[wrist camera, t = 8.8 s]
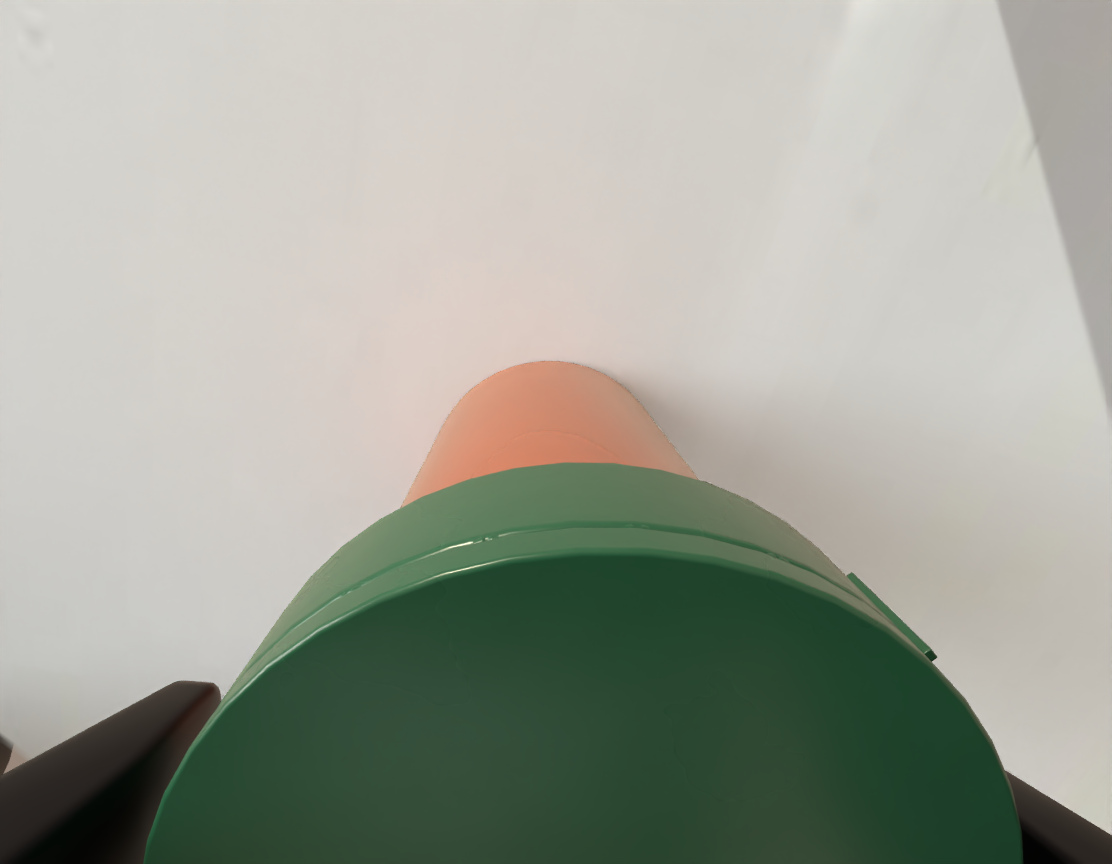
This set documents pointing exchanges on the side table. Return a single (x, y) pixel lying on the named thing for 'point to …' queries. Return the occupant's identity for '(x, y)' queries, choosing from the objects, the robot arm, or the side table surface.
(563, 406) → the jar
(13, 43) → the side table surface
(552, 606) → the green cylinder
